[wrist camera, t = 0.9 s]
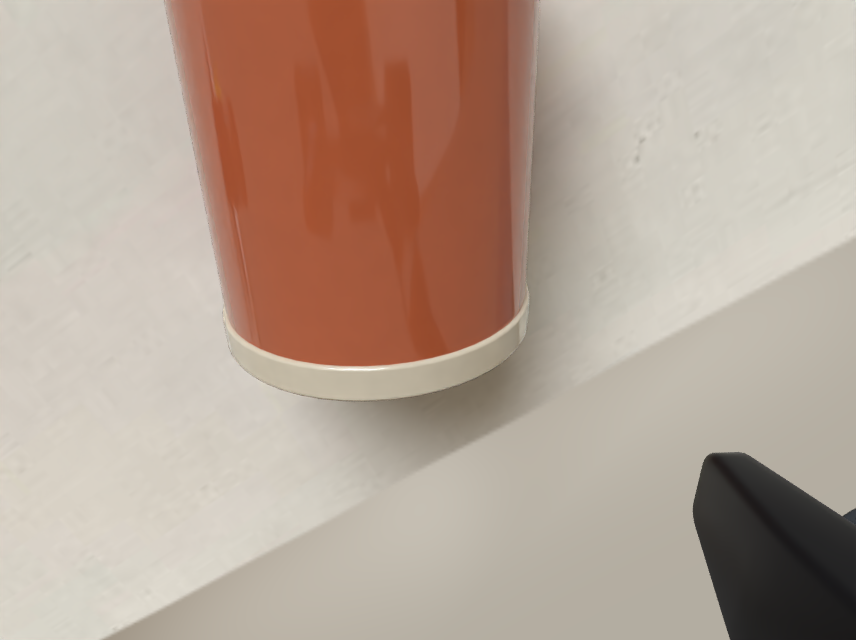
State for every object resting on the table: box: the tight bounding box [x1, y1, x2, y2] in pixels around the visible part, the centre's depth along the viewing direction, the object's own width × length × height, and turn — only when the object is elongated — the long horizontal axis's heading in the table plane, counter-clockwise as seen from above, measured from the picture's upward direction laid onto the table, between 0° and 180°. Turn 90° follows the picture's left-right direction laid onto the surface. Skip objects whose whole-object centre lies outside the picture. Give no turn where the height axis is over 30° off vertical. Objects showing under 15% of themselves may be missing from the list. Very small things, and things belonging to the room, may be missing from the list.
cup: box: [164, 0, 540, 401], centre depth 14 cm, size 9×7×7 cm
